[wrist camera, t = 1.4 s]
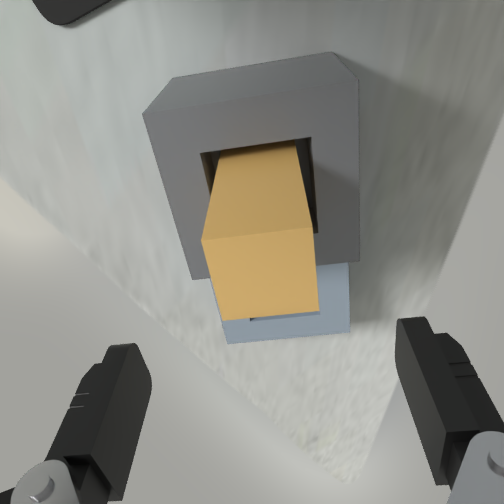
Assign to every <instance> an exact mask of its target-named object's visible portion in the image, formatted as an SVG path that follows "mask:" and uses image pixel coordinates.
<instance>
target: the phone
mask: <svg viewBox="0 0 504 504" xmlns="http://www.w3.org/2000/svg"><path fill="white" fill-rule="evenodd" d="M32 1H33V2H34V4H35V5H36V7H37V9H38V10H39V12H40V13H41V14H42V15H43V16H44V17H45V18H46V19H47V20H48V21H49V22H51V23H53V24H55V25H66V24H69V23H72V22H74V21H76V20H78V19H79V18H81V17H83V16H85V15H87V14H88V13H90V12H92V11H94V10H95V9H97V8H99V7H101V6H103V5H104V4H106V3H108V2H110V1H111V0H32Z"/></svg>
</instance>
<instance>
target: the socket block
mask: <svg viewBox="0 0 504 504" xmlns="http://www.w3.org/2000/svg"><path fill="white" fill-rule="evenodd" d="M142 115H143V119H144V122H145V125H146V129H147V132H148V135H149V138H150V142H151V145H152V148H153V152H154V155H155V158H156V162H157V165H158V168H159V171H160V175H161V178H162V181H163V185H164V188H165V191H166V195H167V198H168V201H169V205H170V208H171V211H172V214H173V218H174V221H175V224H176V228H177V231H178V234H179V238H180V241H181V244H182V247H183V251H184V254H185V257H186V261H187V264H188V267H189V271H190V274H191V277H192V280H197V279H206V278H210V281H211V285H212V289H213V292H214V296H215V300H216V303H217V307H218V311H219V314H220V318H221V322H222V326H223V329H224V333H225V337H226V340H227V344H234V343H244V342H254V341H265V340H275V339H285V338H296V337H306V336H317V335H327V334H337V333H348V332H350V306H349V267H348V262H355V261H360V225H359V80H358V79H357V78H356V77H355V76H354V74H353V73H352V72H351V71H350V70H349V69H348V68H347V67H346V66H345V65H344V64H343V63H342V62H341V61H340V60H339V58H338V57H337V56H336V55H335V54H334V53H333V52H327V53H321V54H315V55H309V56H303V57H297V58H291V59H285V60H278V61H272V62H266V63H260V64H254V65H248V66H242V67H236V68H230V69H224V70H218V71H212V72H206V73H200V74H194V75H188V76H182V77H176V78H172V79H171V80H170V82H169V83H168V84H167V85H166V86H165V88H164V89H163V90H162V91H161V92H160V93H159V95H158V96H157V97H156V98H155V99H154V101H153V102H152V103H151V104H150V105H149V106H148V108H147V109H146V110H145V111H144V112H143V114H142ZM292 139H294V141H295V146H296V150H297V155H298V160H299V165H300V169H301V174H302V179H303V184H304V189H305V193H306V198H307V203H308V208H309V213H310V217H311V222H312V227H313V239H314V251H315V264H316V276H317V288H318V300H319V311H314V312H304V313H294V314H284V315H275V316H265V317H255V318H245V319H236V320H226V321H222V317H221V313H220V310H219V306H218V302H217V298H216V295H215V291H214V287H213V284H212V280H211V276H210V272H209V269H208V265H207V261H206V258H205V254H204V250H203V246H202V243H201V238H202V234H203V229H204V225H205V220H206V216H207V211H208V207H209V202H210V197H211V193H212V188H213V184H214V179H215V175H216V170H217V166H218V161H219V157H220V152H221V150H224V149H230V148H237V147H244V146H251V145H258V144H265V143H272V142H279V141H285V140H292Z"/></svg>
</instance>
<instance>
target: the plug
mask: <svg viewBox="0 0 504 504" xmlns="http://www.w3.org/2000/svg"><path fill="white" fill-rule="evenodd" d="M201 243H202V246H203V250H204V254H205V258H206V261H207V265H208V269H209V272H210V276H211V280H212V284H213V287H214V291H215V295H216V298H217V302H218V306H219V310H220V313H221V317H222V321H226V320H236V319H245V318H255V317H265V316H275V315H284V314H294V313H304V312H314V311H319V300H318V288H317V276H316V264H315V251H314V239H313V227H312V222H311V217H310V213H309V208H308V203H307V198H306V193H305V189H304V184H303V179H302V174H301V169H300V165H299V160H298V155H297V150H296V146H295V141H294V139H292V140H285V141H279V142H272V143H265V144H258V145H251V146H244V147H237V148H230V149H224V150H221V152H220V157H219V161H218V166H217V170H216V175H215V179H214V184H213V188H212V193H211V197H210V202H209V207H208V211H207V216H206V220H205V225H204V229H203V234H202V238H201Z"/></svg>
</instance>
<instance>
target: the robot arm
mask: <svg viewBox="0 0 504 504" xmlns="http://www.w3.org/2000/svg"><path fill="white" fill-rule="evenodd" d="M395 362H396V368H397V372H398V376H399V379H400V382H401V384H402V387H403V390H404V393H405V396H406V399H407V402H408V405H409V408H410V410H411V414H412V417H413V419H414V422H415V425H416V428H417V431H418V434H419V437H420V440H421V443H422V446H423V449H424V452H425V454H426V457H427V460H428V463H429V466H430V469H431V472H432V475H433V478H434V481H435V484H436V485H449V486H450V489H451V494H450V497H449V499H448V502H447V504H504V422H503V421H502V419H501V417H500V415H499V413H498V411H497V410H496V408H495V406H494V404H493V402H492V401H491V398H490V397H489V395H488V393H487V391H486V389H485V387H484V386H483V384H482V382H481V380H480V378H478V376H477V373H476V371H475V369H474V367H473V366H472V365H471V363H470V360H469V358H468V356H467V354H466V353H465V351H464V349H463V347H462V346H461V345H460V344H459V343H458V342H457V341H456V340H455V339H453V338H452V337H451V336H450V335H449V334H448V333H440V334H434V333H433V331H432V329H431V327H430V324H429V322H428V320H427V319H426V318H425V317H424V316H423V317H412V318H402V319H398V320H397V326H396V342H395ZM151 390H152V382H151V375H150V373H149V370H148V368H147V366H146V364H145V362H144V359H143V357H142V355H141V352H140V350H139V348H138V346H137V345H136V344H135V343H130V344H120V345H111V346H110V347H109V348H108V350H107V352H106V354H105V356H104V359H103V361H102V363H98V364H94V365H93V366H92V367H91V369H90V370H89V371H88V372H87V373H86V374H85V375H84V377H83V378H82V380H81V382H80V384H79V386H78V389H77V391H76V393H75V394H76V395H75V396H74V397H73V400H72V402H71V404H70V409H68V411H67V413H66V415H65V417H64V419H63V422H62V424H61V426H60V428H59V430H58V433H57V435H56V437H55V439H54V441H53V444H52V446H51V448H50V450H49V452H48V455H47V457H46V459H45V460H44V462H42V463H40V464H38V465H36V466H35V467H33V468H31V469H30V470H29V471H28V472H27V473H26V474H25V475H24V476H23V477H22V478H21V479H20V480H19V482H18V483H17V485H16V487H14V488H12V489H9V490H7V491H4V492H2V493H0V504H107V502H108V501H122V499H123V495H124V492H125V488H126V484H127V481H128V477H129V473H130V469H131V465H132V462H133V458H134V455H135V451H136V447H137V444H138V439H139V436H140V432H141V429H142V425H143V421H144V418H145V414H146V410H147V407H148V403H149V399H150V395H151Z"/></svg>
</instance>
